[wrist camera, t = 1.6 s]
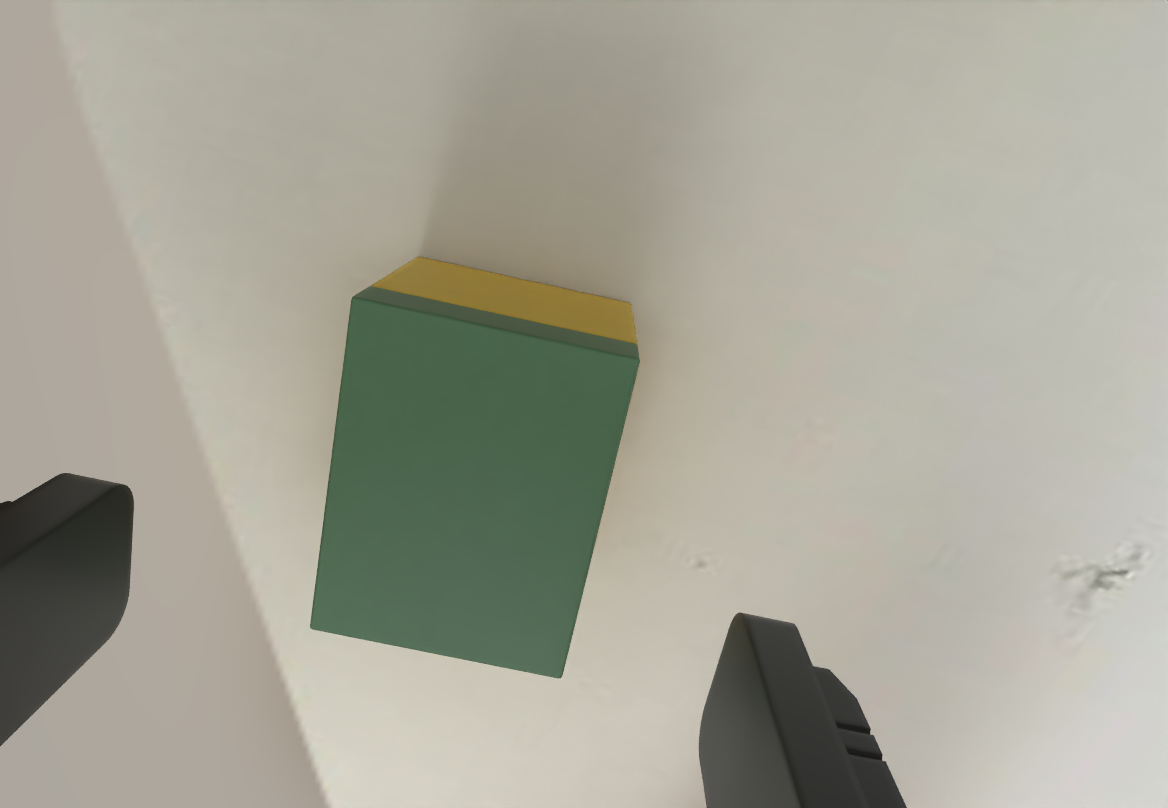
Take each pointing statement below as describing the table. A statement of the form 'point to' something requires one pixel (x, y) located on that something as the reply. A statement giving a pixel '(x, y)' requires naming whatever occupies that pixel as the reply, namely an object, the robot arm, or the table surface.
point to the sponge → (471, 463)
